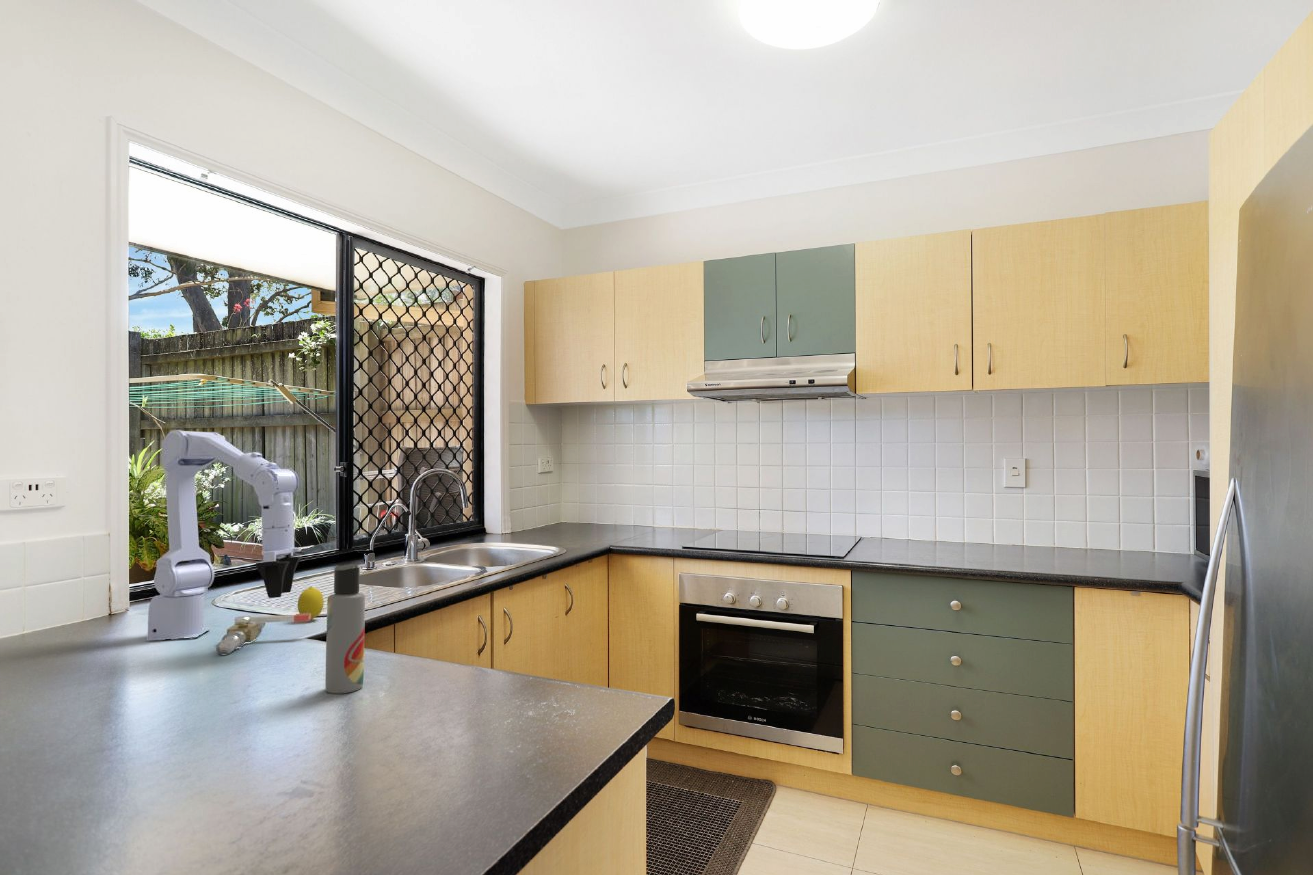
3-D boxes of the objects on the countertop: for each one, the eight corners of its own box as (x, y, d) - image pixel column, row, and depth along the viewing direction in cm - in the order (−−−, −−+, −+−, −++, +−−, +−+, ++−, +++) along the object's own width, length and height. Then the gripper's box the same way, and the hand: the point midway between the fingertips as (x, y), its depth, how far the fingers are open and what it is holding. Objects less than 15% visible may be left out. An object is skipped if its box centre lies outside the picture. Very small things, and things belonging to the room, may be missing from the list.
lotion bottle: (371, 686, 115) (373, 563, 116) (342, 696, 110) (345, 568, 111) (346, 681, 118) (348, 562, 119) (317, 691, 113) (320, 566, 114)
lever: (232, 625, 143) (232, 619, 143) (237, 622, 146) (237, 616, 146) (308, 621, 147) (308, 615, 147) (311, 618, 150) (311, 612, 150)
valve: (236, 657, 135) (237, 635, 135) (211, 659, 134) (211, 636, 134) (268, 632, 156) (269, 612, 156) (247, 633, 155) (247, 613, 155)
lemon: (312, 623, 162) (313, 588, 163) (291, 622, 164) (292, 588, 164) (328, 618, 168) (329, 585, 168) (308, 617, 169) (308, 584, 169)
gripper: (290, 527, 137) (292, 597, 136) (307, 524, 151) (309, 588, 150) (250, 530, 135) (252, 601, 134) (271, 527, 149) (272, 592, 148)
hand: (279, 595), depth 142 cm, fingers open, 7 cm apart
